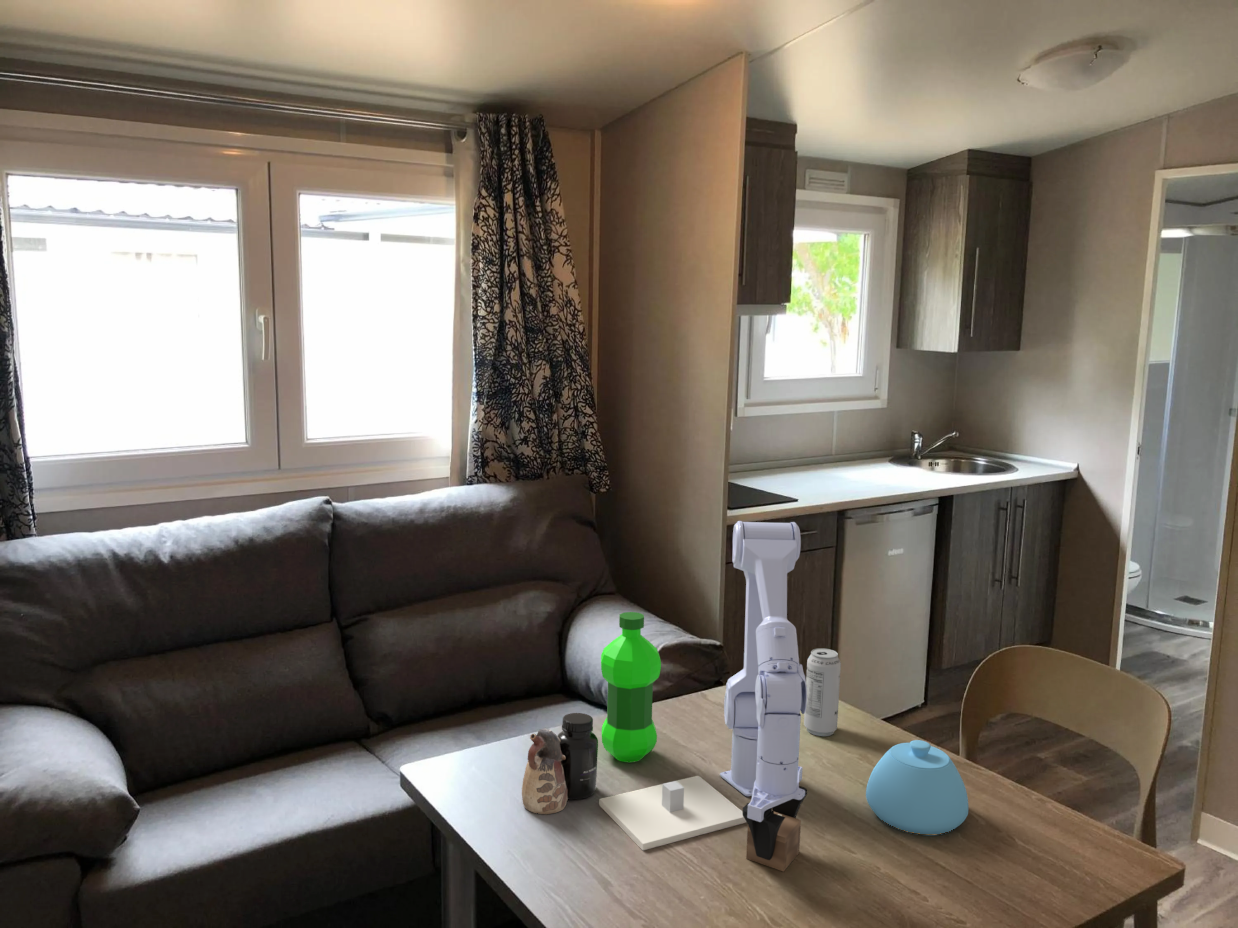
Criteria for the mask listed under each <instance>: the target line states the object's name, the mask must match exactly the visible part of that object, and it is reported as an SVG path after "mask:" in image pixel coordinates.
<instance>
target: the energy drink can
mask: <svg viewBox="0 0 1238 928" xmlns="http://www.w3.org/2000/svg"><path fill="white" fill-rule="evenodd" d="M841 666H842V663H841V660H840V658H839V653H838V652H837V651H836V650H833V649H829V648H814V649H812V650H811V651H810V655H809V656H808V658H807V662H806V674H805V679H806V685H807V705H806V711H805V713H804V714H803V715H804V716H803V717H804V718H803V726H804V727H805V728H806V731H807V733H809V734H811V735H813V736H818V737H829V736H832V735H833V734H835V731H836V730H837V729H838V722H839V721H838V719H839V701H840V700H839V699H840V687H841V686H840V685H841V684H840V683H841Z"/></svg>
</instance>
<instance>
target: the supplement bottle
mask: <svg viewBox="0 0 1238 928" xmlns="http://www.w3.org/2000/svg"><path fill="white" fill-rule="evenodd" d="M593 724H594V719H593V717H592V716H591V715H589V714H586V713H582V712H572V713H567V714H564V716H563V717H562V724H561V730H562V731H560V732H559V733H558V734H556V735H557V736H558V738H559V739H560V740H561V741H560V749H561V752H562V754H563V755H564V756H565V757H566V759H565V760H562V761H561V764H562V767H563V770H564V776H565V783H566V787H567V790H568V793H567V796H568V799H569V800H570V799H571V800H580V799H582V800H583V799H587V798H589V797H591V796H593V794H594V793H595V792H596V788H597V777H598V776H597V774H598V773H597V772H598V755H599V739H598V737H597V735H596V734H595V733H594V726H593Z"/></svg>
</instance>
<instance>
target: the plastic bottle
mask: <svg viewBox="0 0 1238 928" xmlns="http://www.w3.org/2000/svg"><path fill="white" fill-rule="evenodd" d="M618 619H619V621H618V623H619V628H621V634H620V635H619V636H617V637H616V638H615V639H613V640H612V641H611V642H609V644H607V645H606V646H605V647H604V648H603V650H602V652H601V655H600V670H601V675H602V678H604V680H605V681H606V682H607V703H606V704H607V709H606V710H607V711H606V712H607V713H606V714H607V715H606V718H605V719H604V722H603V724H602V726H601V742H602V743H601V744H602V746H603V748H604V749H605V751H606V752H608V753H609V754H610V755H611V756H613V757H614V759H616V760H617V761H618V762H622V763H623V762H624V763H635V762H640V761H641V760H642V759H643V758H644V757H645V756H646V755H648V754H649V753H650V752H652V750H654V748H655V746H656V745H657V742H658V741H657V740H658V739H657V738H658V735H657V733H658V732H657V729H656V725H655V723H654V720H653V696H654V695H653V689H654V683H655V682H656V680H658V679H659V677H660V674H661V669H662V667H661V666H662V661H661V656H660V653H659V651H658V648H657V647H655V645H654V644H653V643H651V641H649V640H648V639H647V638H645V637H644V636H643V635H642V634H641V633H642V632H641V630H642V629H644V627H645V615H644V613H640V612H634V611H627V612H622V613H620V614H619V618H618Z"/></svg>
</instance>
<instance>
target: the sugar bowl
mask: <svg viewBox="0 0 1238 928" xmlns="http://www.w3.org/2000/svg"><path fill="white" fill-rule="evenodd" d="M865 798H866V801H867V804H868V806H869V807H870V808H871V809H870V810H872V811H873V813H874V814H875V815H876V816H877V817H878V818H879V820H881V821H882V820H883V821H884V822H883V821H882V822H883V823H885V822H886V823H888V824H889V825H888V824H887V825H888V826H890V825H891V826H890V827H892V826H894V827H896V828H899V829H901V830H905V831H908V832H914V833H920V834H940V833H945V832H948V833H950V832H952V831H953V829H954V830H955V829H957V828H958V827H959V826H960V825H962V823H964V822H965V820H966V819H967V817H968V815H969V798H968V793H967V789H966V785H965V783H964V780H963V778H962V777H961V773H960V772H959V771H958V769H957V766H956V765H955V763H954V762H953V760H952V759H951V758H950V756H949V755H948V754H947V753H946V752H945V751H943V750H942V749H939V748H937V747H935V746H933V745H931V744H930V743H929V742H927V741H925V740H922V739H920V740H919V739H914V740H911V741H910V742H901V743H898V744H895V745H893V746H892V747H890V748H889V749H888V750H887V751H886V752H885V753H884V754H883V756H881V758H880V759H879V760H878V762H877V763H876V765H875V766H874V767H873V769H872V771H871V773H870V776H869V778H868V781H867V785H866V789H865ZM886 823H885V824H886ZM894 827H893V828H894ZM896 828H895V829H896ZM899 829H898V830H899ZM901 830H900V831H901ZM951 830H952V831H951ZM949 831H950V832H949ZM908 832H907V833H908ZM945 834H946V833H945Z"/></svg>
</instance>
